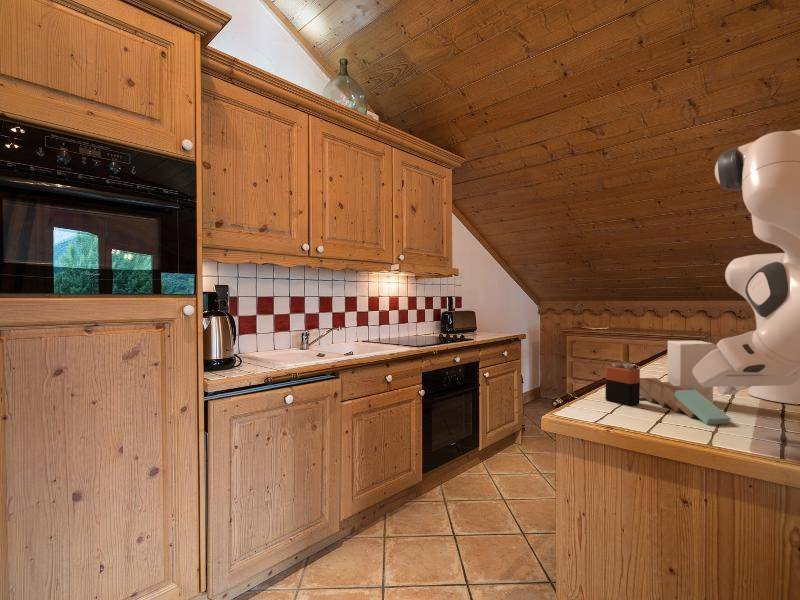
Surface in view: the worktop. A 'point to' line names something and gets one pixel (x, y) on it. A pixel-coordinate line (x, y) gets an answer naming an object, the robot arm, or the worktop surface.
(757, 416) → the worktop surface
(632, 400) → the battery
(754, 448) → the worktop surface
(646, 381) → the domino
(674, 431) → the worktop surface
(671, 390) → the domino
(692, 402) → the domino end
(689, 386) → the skincare box
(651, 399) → the domino
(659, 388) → the domino
